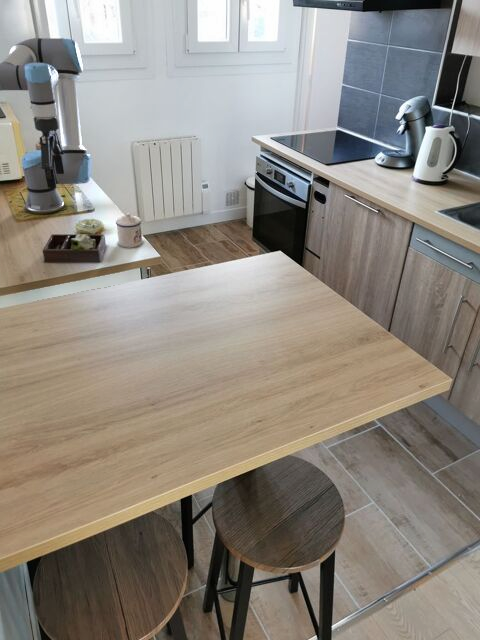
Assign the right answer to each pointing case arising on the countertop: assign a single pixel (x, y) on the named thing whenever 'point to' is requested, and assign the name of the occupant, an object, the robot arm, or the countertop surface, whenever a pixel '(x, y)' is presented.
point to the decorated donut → (89, 226)
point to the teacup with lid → (129, 231)
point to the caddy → (62, 252)
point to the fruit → (83, 242)
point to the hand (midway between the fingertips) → (56, 180)
